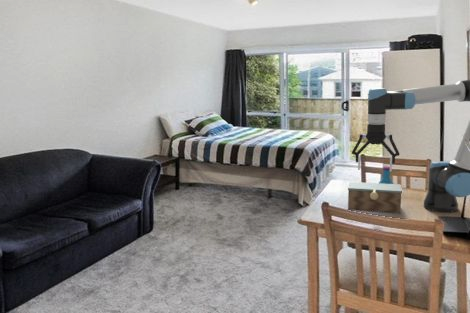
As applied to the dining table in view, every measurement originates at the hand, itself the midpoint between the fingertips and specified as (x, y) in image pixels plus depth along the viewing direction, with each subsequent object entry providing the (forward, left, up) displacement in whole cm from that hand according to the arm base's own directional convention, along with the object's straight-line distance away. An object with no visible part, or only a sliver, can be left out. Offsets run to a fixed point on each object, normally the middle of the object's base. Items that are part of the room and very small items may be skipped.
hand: (374, 170), depth 183 cm
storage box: (0, -15, -23) cm, 27 cm away
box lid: (0, -9, -14) cm, 17 cm away
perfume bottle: (-6, -43, -23) cm, 49 cm away
